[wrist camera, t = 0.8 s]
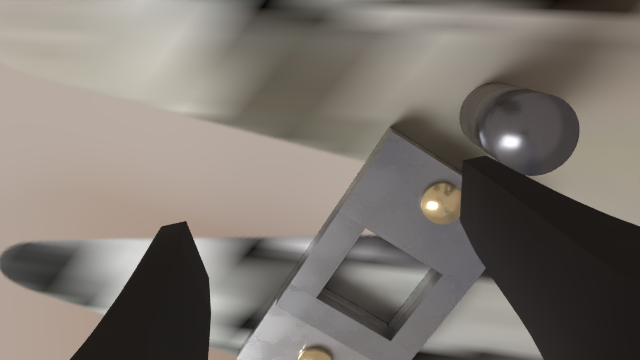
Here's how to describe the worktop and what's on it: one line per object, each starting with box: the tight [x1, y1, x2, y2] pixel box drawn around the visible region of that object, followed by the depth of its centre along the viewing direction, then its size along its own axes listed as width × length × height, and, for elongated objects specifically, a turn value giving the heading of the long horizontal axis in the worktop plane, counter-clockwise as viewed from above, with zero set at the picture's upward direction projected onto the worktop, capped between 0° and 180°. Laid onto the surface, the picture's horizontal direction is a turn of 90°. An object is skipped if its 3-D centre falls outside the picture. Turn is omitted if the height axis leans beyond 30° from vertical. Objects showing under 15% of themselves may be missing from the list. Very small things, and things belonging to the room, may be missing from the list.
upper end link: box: [275, 127, 486, 360], centre depth 31 cm, size 10×14×2 cm
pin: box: [460, 83, 579, 176], centre depth 26 cm, size 4×4×7 cm
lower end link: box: [236, 179, 437, 360], centre depth 32 cm, size 10×16×2 cm, turn 148°
